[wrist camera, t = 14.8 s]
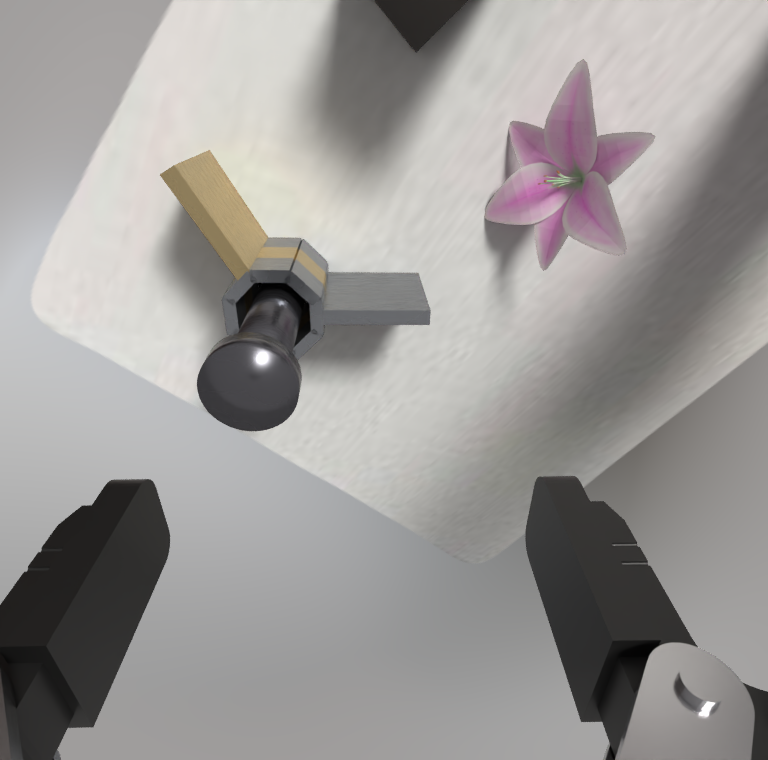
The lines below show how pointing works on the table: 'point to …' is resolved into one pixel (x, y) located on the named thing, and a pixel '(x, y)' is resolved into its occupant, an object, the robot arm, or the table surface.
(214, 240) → the hinge
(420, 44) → the phone stand
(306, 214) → the table surface
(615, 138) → the lily
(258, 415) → the hinge pin
